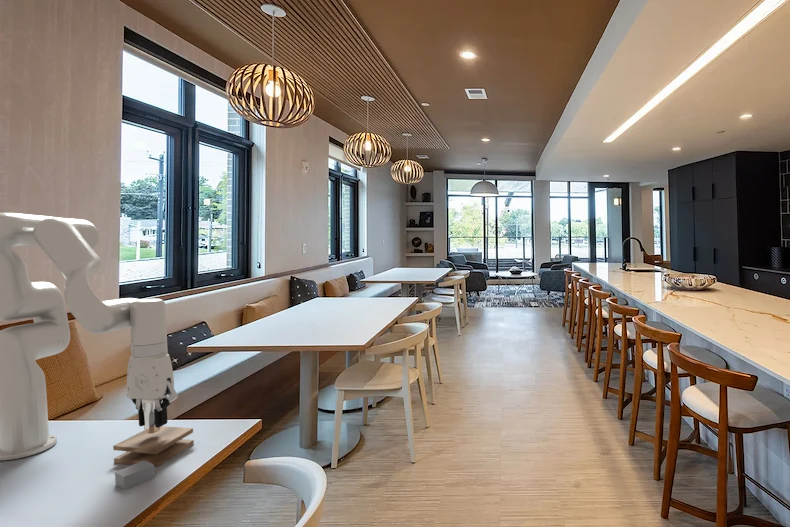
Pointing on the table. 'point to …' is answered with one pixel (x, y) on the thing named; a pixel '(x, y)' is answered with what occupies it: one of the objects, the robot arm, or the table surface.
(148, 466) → the block
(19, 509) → the table surface
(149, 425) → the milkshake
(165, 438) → the stand
